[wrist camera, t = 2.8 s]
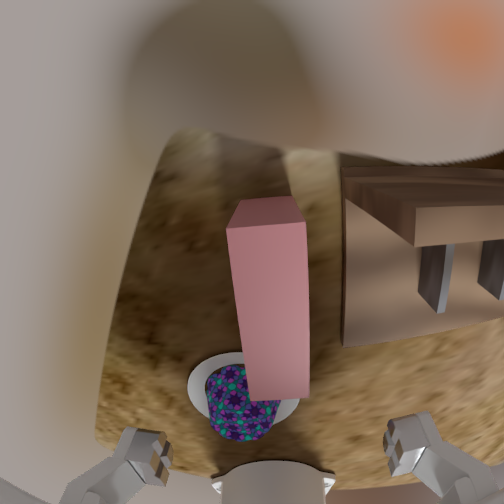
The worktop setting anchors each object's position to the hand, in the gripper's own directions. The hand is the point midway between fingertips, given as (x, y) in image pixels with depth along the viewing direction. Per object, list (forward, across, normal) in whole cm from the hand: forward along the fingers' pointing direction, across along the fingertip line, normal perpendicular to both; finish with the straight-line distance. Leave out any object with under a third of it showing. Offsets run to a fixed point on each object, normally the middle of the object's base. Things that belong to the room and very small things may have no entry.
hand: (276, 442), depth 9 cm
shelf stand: (+17, +17, -1) cm, 24 cm away
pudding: (+17, -4, -15) cm, 23 cm away
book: (+17, 0, -1) cm, 17 cm away
